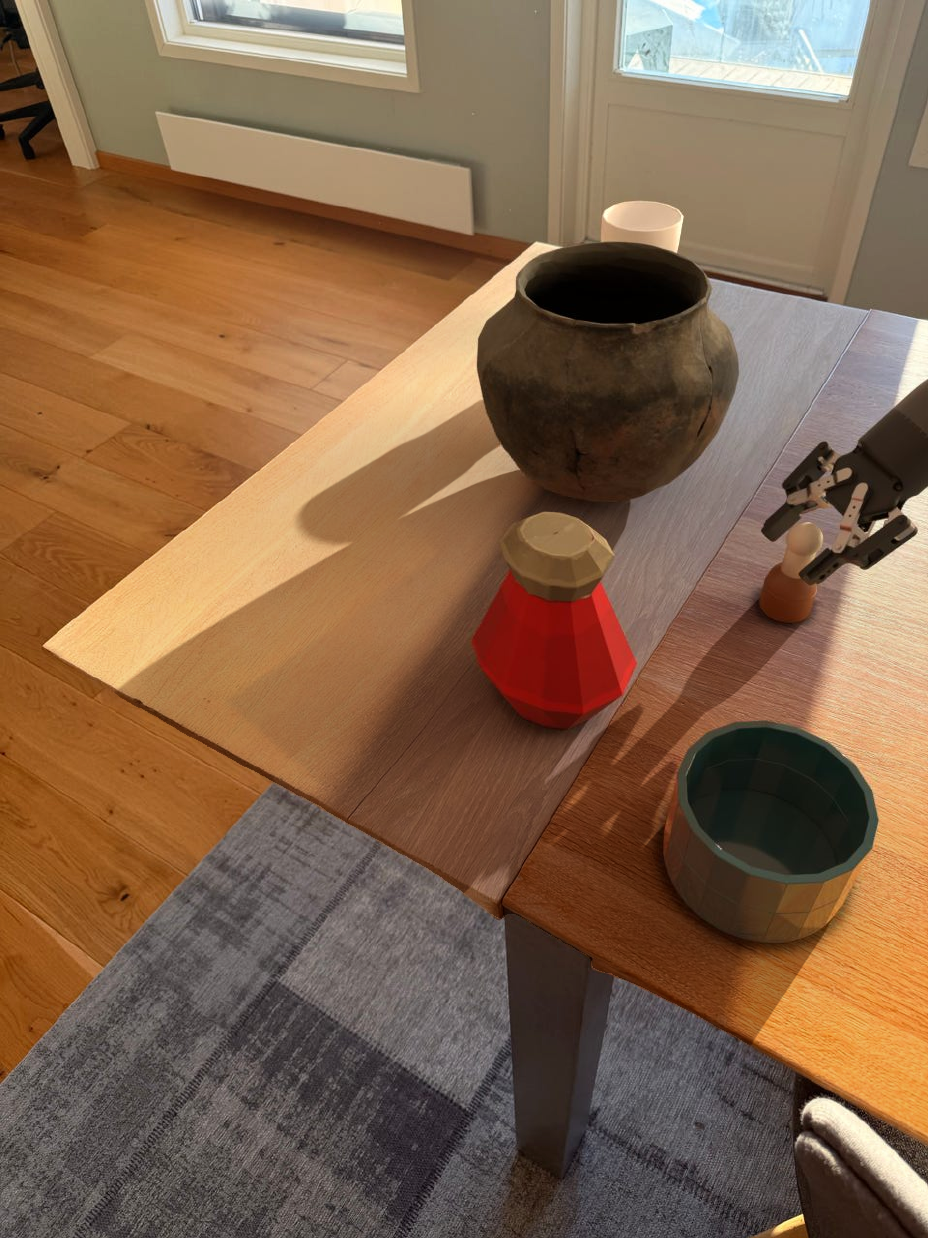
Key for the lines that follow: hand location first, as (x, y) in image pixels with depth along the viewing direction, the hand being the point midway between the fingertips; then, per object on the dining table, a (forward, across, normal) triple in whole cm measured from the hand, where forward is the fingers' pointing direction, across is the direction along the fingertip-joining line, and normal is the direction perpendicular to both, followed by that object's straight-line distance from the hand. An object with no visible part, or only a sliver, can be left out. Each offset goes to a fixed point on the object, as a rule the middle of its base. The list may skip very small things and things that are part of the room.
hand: (785, 557), depth 90 cm
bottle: (+23, +4, -13) cm, 27 cm away
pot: (+10, -28, 0) cm, 30 cm away
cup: (-3, -61, +14) cm, 63 cm away
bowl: (+17, +26, -7) cm, 31 cm away
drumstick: (+4, 0, +6) cm, 7 cm away
